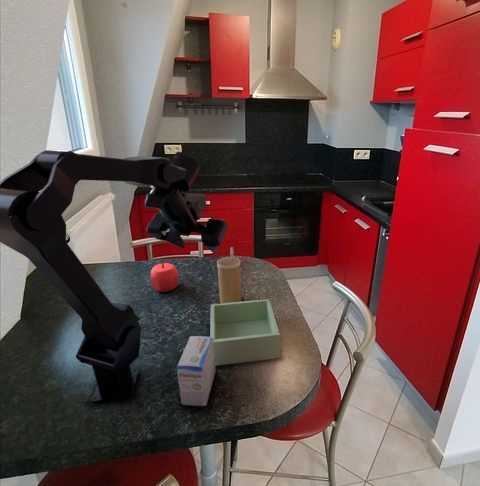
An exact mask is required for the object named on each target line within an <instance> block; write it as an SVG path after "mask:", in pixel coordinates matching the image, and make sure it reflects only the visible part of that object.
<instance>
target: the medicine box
mask: <svg viewBox="0 0 480 486" xmlns="http://www.w3.org/2000/svg"><path fill="white" fill-rule="evenodd" d="M177 363H178V364H177V365H176V372H177V379H178V387H179V394H180V396H179V397H180V403H181V405H183V406H193V407H194V406H195V407H206V406H207V405H208V401H209V398H210V394H211V391H212V390H211V389H212V387H213V382H214V378H215V374H216V366H215V355H214V341H213V337H210V336H205V335H203V336H202V335H198V336H196V335H190V336H189V338H188V340H187V343H186V345H185V347H184V349H183V352H182V354H181V356H180V358H179V361H178V362H177Z"/></svg>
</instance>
